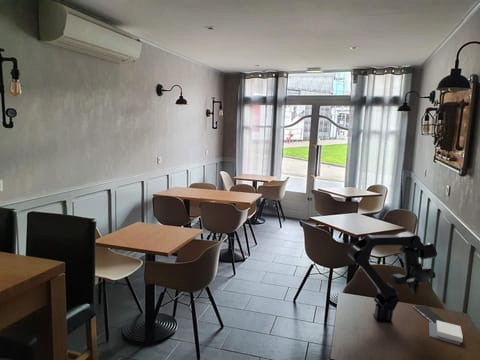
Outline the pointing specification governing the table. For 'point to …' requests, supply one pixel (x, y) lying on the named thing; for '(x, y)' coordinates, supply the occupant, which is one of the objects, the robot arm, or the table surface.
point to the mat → (434, 335)
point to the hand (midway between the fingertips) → (414, 295)
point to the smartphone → (428, 313)
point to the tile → (449, 331)
